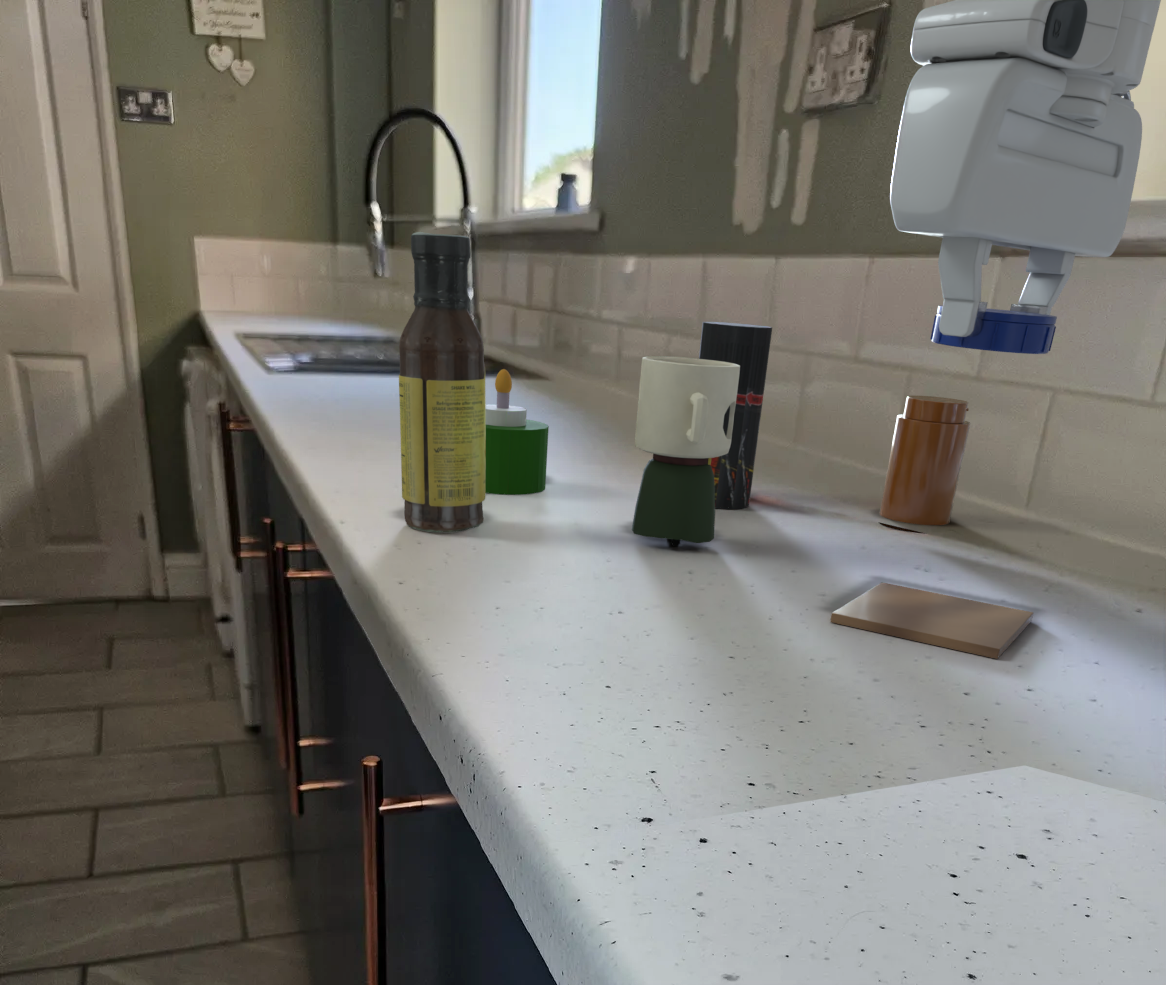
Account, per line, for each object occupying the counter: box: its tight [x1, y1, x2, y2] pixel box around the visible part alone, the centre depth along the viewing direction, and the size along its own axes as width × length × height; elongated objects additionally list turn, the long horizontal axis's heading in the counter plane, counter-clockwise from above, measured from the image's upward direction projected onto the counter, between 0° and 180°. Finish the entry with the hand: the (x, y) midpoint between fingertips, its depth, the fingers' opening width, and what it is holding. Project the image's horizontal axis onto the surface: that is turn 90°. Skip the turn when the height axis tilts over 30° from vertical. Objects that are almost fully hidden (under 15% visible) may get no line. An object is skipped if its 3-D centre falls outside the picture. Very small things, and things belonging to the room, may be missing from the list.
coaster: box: [830, 581, 1034, 660], centre depth 68 cm, size 10×10×1 cm
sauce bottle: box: [398, 231, 487, 533], centre depth 79 cm, size 6×6×20 cm
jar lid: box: [929, 304, 1058, 355], centre depth 61 cm, size 6×6×2 cm
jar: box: [878, 395, 972, 535], centre depth 94 cm, size 6×6×11 cm
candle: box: [485, 368, 550, 496], centre depth 97 cm, size 8×8×10 cm
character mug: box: [631, 355, 740, 547], centre depth 81 cm, size 11×7×13 cm, turn 6°
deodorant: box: [698, 321, 773, 510], centre depth 96 cm, size 6×6×15 cm
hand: (992, 337), depth 61 cm, fingers closed on jar lid, 6 cm apart
